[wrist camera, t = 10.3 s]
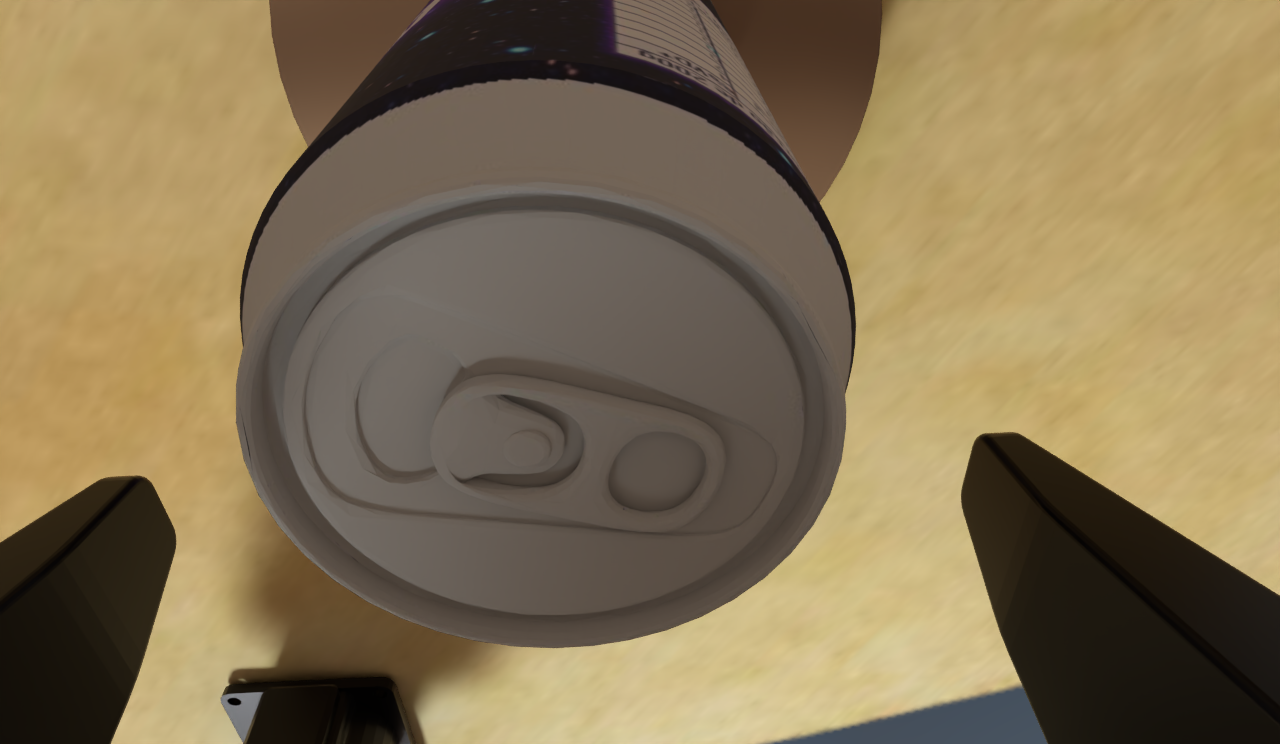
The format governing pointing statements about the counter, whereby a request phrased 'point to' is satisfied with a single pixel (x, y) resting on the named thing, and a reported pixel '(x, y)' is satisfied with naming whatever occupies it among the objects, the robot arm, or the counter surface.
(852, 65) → the walnut base
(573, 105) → the beverage can
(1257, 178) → the counter surface
